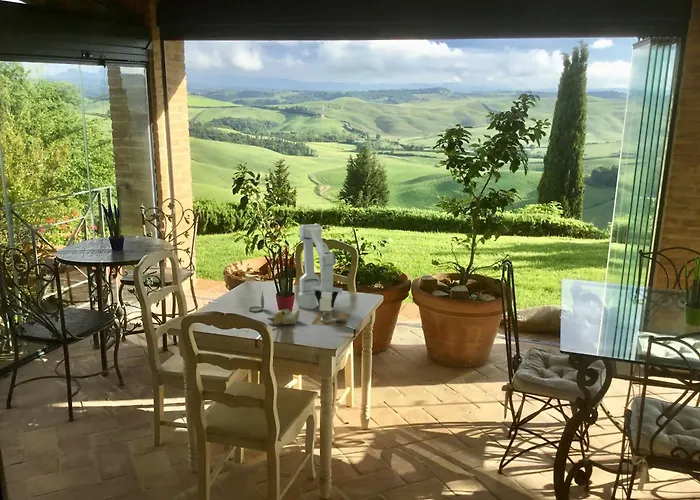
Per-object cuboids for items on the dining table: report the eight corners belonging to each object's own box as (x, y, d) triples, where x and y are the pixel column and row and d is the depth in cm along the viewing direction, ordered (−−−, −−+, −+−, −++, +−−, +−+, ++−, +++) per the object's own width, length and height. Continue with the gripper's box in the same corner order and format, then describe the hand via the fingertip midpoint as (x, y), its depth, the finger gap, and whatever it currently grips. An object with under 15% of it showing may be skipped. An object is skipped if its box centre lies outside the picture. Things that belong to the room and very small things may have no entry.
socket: (319, 310, 271) (319, 299, 270) (321, 306, 276) (321, 295, 275) (330, 311, 270) (331, 299, 269) (332, 307, 275) (333, 296, 274)
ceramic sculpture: (300, 310, 267) (267, 313, 264) (301, 328, 269) (268, 331, 266) (297, 303, 277) (266, 306, 274) (298, 320, 279) (267, 323, 276)
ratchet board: (311, 327, 270) (311, 316, 269) (318, 314, 289) (318, 303, 287) (345, 330, 268) (345, 318, 267) (350, 316, 287) (350, 306, 286)
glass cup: (246, 310, 292) (245, 291, 289) (259, 306, 298) (259, 287, 295) (256, 314, 286) (256, 294, 284) (269, 310, 292) (269, 291, 290)
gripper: (309, 280, 267) (309, 308, 270) (341, 282, 265) (340, 310, 268) (312, 276, 274) (312, 303, 277) (343, 278, 272) (342, 305, 275)
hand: (326, 306), depth 273 cm, fingers closed on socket, 5 cm apart
